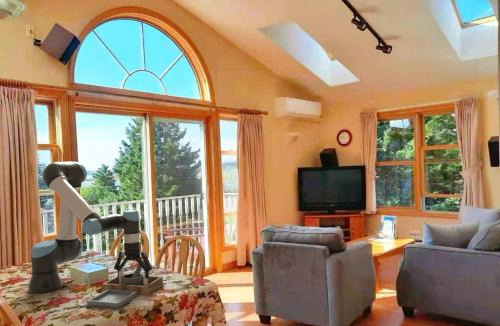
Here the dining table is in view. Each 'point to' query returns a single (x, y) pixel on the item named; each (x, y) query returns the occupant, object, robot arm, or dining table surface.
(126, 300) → the tray
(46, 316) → the dining table surface
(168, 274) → the dining table surface
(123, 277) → the mortar and pestle
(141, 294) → the tray
